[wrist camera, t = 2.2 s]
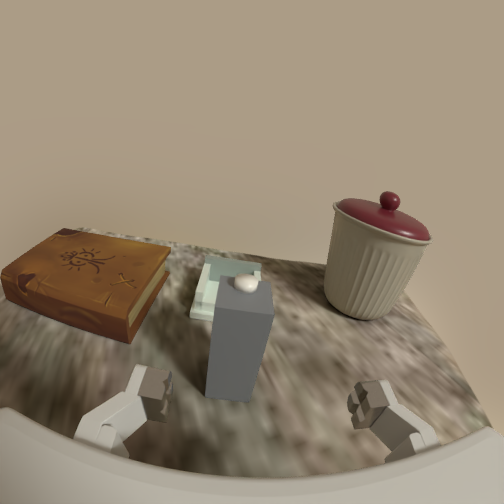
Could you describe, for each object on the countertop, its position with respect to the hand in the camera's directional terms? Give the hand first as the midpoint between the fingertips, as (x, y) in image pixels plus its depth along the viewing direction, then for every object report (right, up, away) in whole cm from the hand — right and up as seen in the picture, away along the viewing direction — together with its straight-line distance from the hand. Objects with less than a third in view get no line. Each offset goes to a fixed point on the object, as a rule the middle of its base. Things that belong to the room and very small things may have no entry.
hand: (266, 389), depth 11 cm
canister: (+18, -4, +37) cm, 42 cm away
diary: (-27, 0, +27) cm, 38 cm away
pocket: (-4, -2, +32) cm, 32 cm away
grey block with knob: (-3, -8, +17) cm, 19 cm away
